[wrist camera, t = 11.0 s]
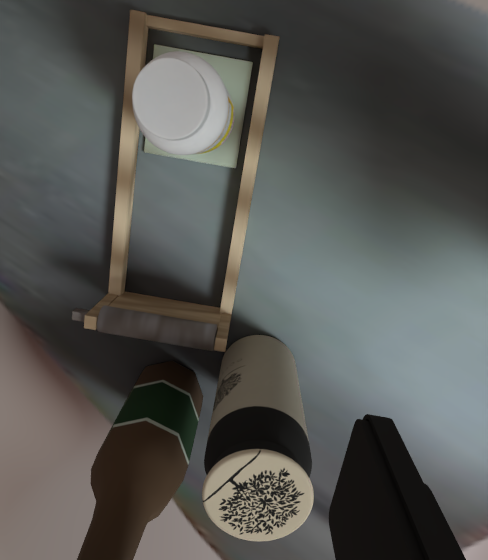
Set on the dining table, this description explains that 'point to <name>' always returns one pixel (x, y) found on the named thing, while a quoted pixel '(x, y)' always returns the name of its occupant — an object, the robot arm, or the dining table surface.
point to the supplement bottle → (182, 104)
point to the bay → (236, 77)
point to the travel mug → (258, 444)
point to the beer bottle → (142, 460)
